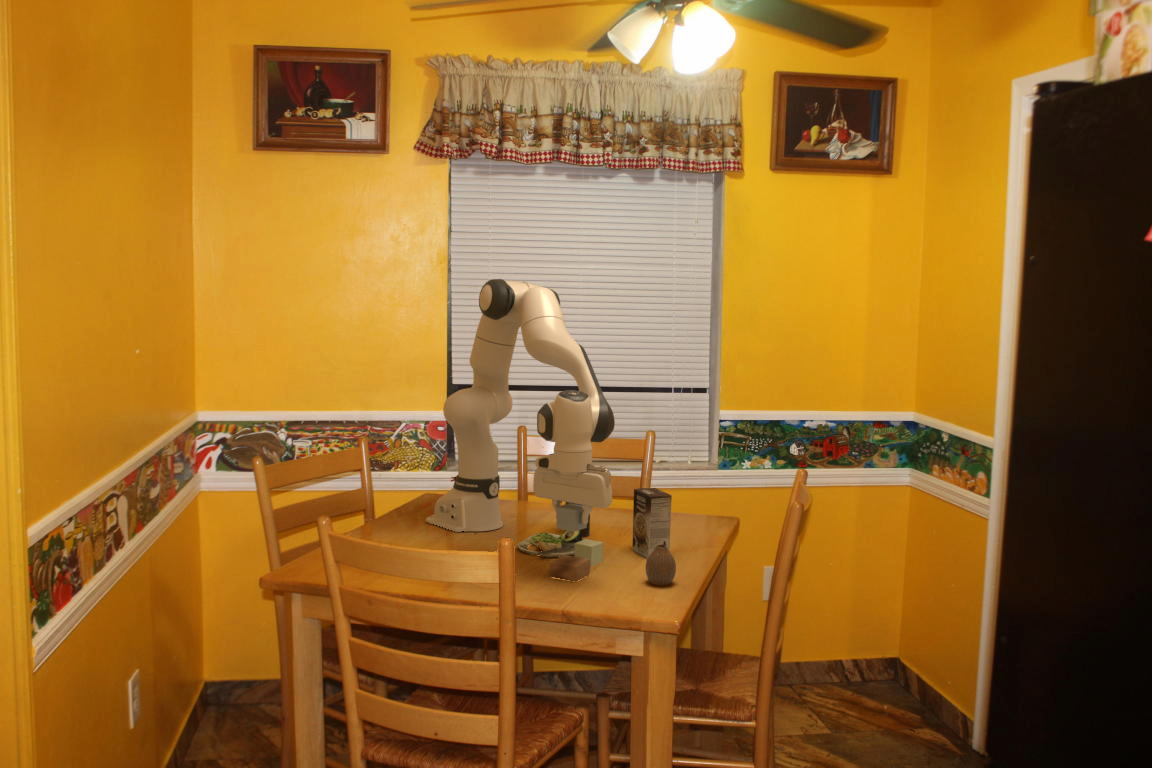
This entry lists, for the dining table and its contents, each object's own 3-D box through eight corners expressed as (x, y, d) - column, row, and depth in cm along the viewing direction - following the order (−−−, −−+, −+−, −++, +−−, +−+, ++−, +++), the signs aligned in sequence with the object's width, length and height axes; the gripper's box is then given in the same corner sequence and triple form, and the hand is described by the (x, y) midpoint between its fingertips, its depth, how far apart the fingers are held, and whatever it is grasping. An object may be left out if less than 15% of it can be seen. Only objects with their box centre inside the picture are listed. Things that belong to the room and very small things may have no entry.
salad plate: (569, 566, 226) (569, 547, 225) (504, 556, 233) (504, 538, 232) (599, 546, 244) (599, 529, 243) (537, 538, 251) (537, 521, 250)
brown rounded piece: (642, 578, 216) (644, 541, 215) (672, 578, 216) (673, 541, 216) (647, 588, 209) (648, 550, 208) (678, 588, 210) (679, 549, 209)
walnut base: (549, 579, 215) (549, 562, 214) (563, 571, 221) (563, 554, 221) (576, 584, 212) (576, 566, 211) (589, 575, 218) (590, 559, 218)
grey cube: (569, 524, 219) (569, 503, 218) (586, 527, 216) (587, 506, 215) (556, 528, 215) (556, 507, 214) (574, 531, 212) (574, 510, 211)
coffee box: (631, 550, 239) (632, 488, 237) (653, 548, 242) (655, 486, 240) (647, 560, 231) (649, 496, 229) (670, 557, 233) (672, 494, 232)
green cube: (574, 563, 227) (574, 543, 227) (586, 558, 231) (586, 538, 231) (591, 567, 224) (591, 546, 224) (602, 562, 228) (603, 542, 228)
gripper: (618, 465, 210) (617, 525, 212) (546, 455, 222) (545, 512, 223) (602, 469, 205) (601, 531, 207) (529, 458, 217) (529, 517, 218)
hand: (571, 521), depth 215 cm, fingers closed on grey cube, 5 cm apart
